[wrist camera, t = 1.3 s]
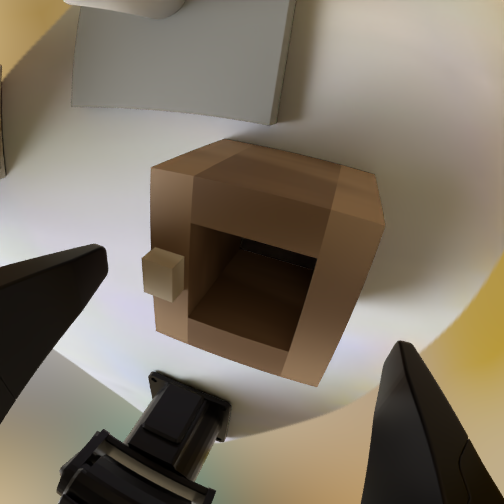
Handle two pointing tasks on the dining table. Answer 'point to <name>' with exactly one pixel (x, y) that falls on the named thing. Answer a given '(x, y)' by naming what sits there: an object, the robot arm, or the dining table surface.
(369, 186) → the open wooden cubby
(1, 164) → the coffee box
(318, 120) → the dining table surface
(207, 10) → the grey square slab
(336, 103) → the dining table surface
